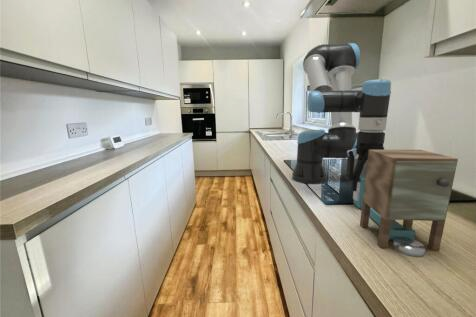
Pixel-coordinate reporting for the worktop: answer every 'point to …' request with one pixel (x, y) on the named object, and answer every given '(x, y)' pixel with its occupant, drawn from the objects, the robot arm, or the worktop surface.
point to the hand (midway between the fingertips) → (363, 199)
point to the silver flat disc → (409, 246)
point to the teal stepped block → (395, 228)
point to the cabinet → (408, 190)
